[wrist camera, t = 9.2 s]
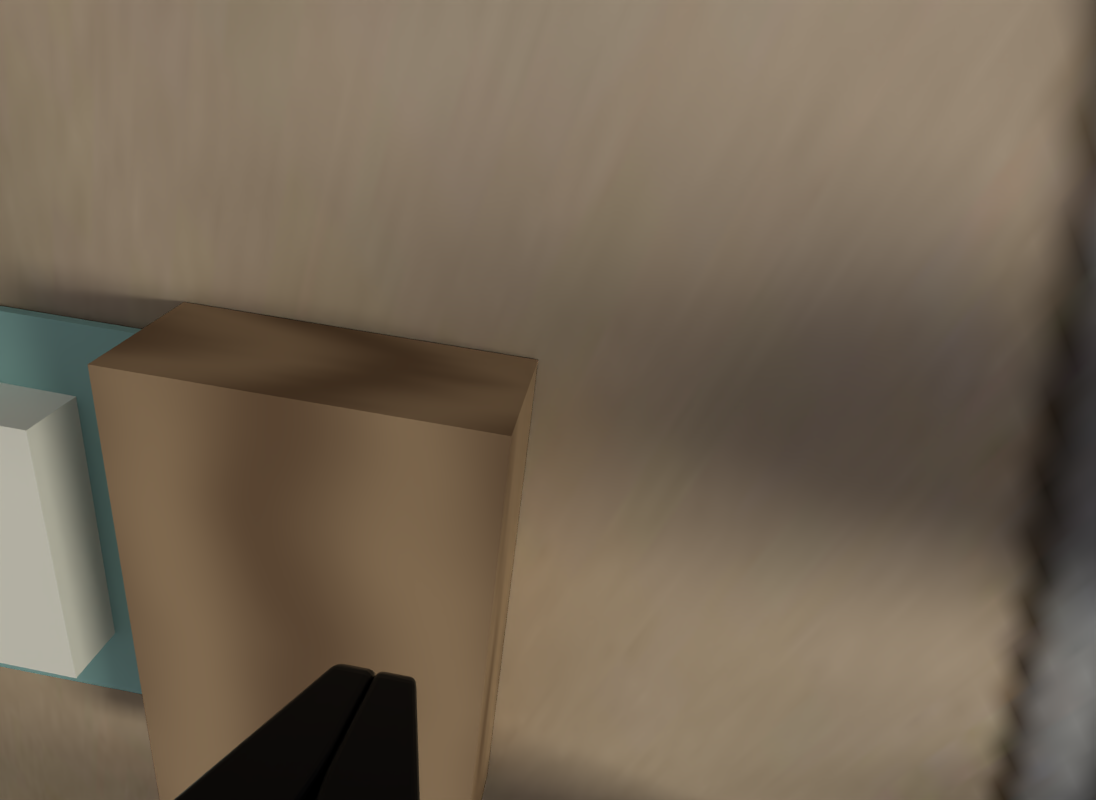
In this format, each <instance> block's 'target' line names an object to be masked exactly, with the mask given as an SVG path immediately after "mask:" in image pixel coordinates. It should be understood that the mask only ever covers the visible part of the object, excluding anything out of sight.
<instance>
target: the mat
mask: <svg viewBox="0 0 1096 800" xmlns="http://www.w3.org/2000/svg"><path fill="white" fill-rule="evenodd" d="M140 330H142V329H137V328H131V327H125V326H119V325H113V324H107V323H101V322H95V321H89V320H83V319H77V318H71V317H65V316H59V315H53V314H47V313H41V312H35V311H29V310H23V309H17V308H11V307H5V306H0V383H6V384H11V385H16V386H22V387H27V388H33V389H38V390H44V391H49V392H55V393H60V394H66V395H71V396H76V399H77V406H78V412H79V418H80V424H81V430H82V436H83V442H84V448H85V454H86V460H87V466H88V472H89V478H90V484H91V490H92V497H93V503H94V509H95V515H96V521H97V527H98V533H99V539H100V545H101V551H102V557H103V563H104V569H105V575H106V582H107V588H108V594H109V600H110V606H111V612H112V618H113V624H114V630H115V634H114V635H113V636H112V637H111V638H110V640H109V641H108V642H107V643H106V644H105V645H104V647H103V648H102V649H101V650H100V651H99V652H98V654H97V655H96V656H95V657H94V658H93V659H92V660H91V662H90V663H89V664H88V665H87V666H86V667H85V669H84V670H83V671H82V672H81V673H80V674H79V676H78V677H77V678H72V677H67V676H62V675H57V674H53V673H48V672H43V671H38V670H33V669H28V668H23V667H18V666H13V665H8V664H4V663H0V666H1V667H6V668H11V669H16V670H22V671H27V672H32V673H37V674H42V675H47V676H52V677H57V678H62V679H67V680H73V681H78V682H83V683H88V684H93V685H98V686H103V687H108V688H113V689H118V690H124V691H129V692H134V693H139V694H142V691H141V685H140V679H139V673H138V667H137V661H136V654H135V648H134V642H133V636H132V630H131V624H130V618H129V612H128V606H127V600H126V594H125V588H124V582H123V576H122V570H121V564H120V558H119V552H118V546H117V540H116V534H115V528H114V522H113V515H112V509H111V503H110V497H109V491H108V485H107V479H106V473H105V467H104V461H103V455H102V449H101V443H100V437H99V431H98V425H97V419H96V413H95V407H94V401H93V395H92V389H91V382H90V376H89V370H88V364H89V363H90V362H92V361H94V360H95V359H97V358H98V357H100V356H101V355H103V354H104V353H106V352H107V351H109V350H111V349H112V348H114V347H115V346H117V345H118V344H120V343H121V342H123V341H125V340H126V339H128V338H129V337H131V336H132V335H134V334H135V333H137V332H138V331H140Z"/></svg>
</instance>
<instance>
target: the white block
mask: <svg viewBox="0 0 1096 800" xmlns="http://www.w3.org/2000/svg"><path fill="white" fill-rule="evenodd" d="M114 634H115V630H114V624H113V618H112V612H111V606H110V600H109V594H108V588H107V582H106V575H105V569H104V563H103V557H102V551H101V545H100V539H99V533H98V527H97V521H96V515H95V509H94V503H93V497H92V490H91V484H90V478H89V472H88V466H87V460H86V454H85V448H84V442H83V436H82V430H81V424H80V418H79V412H78V406H77V399H76V396H71V395H66V394H60V393H55V392H49V391H44V390H38V389H33V388H27V387H22V386H16V385H11V384H6V383H0V663H4V664H8V665H13V666H18V667H23V668H28V669H33V670H38V671H43V672H48V673H53V674H57V675H62V676H67V677H72V678H77V677H78V676H79V674H80V673H81V672H82V671H83V670H84V669H85V667H86V666H87V665H88V664H89V663H90V662H91V660H92V659H93V658H94V657H95V656H96V655H97V654H98V652H99V651H100V650H101V649H102V648H103V647H104V645H105V644H106V643H107V642H108V641H109V640H110V638H111V637H112V636H113V635H114Z"/></svg>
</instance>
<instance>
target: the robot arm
mask: <svg viewBox="0 0 1096 800" xmlns="http://www.w3.org/2000/svg"><path fill="white" fill-rule="evenodd" d="M174 800H420V787H419V754H418V721H417V689H416V681H415V679H414V678H413V677H410V676H405V675H400V674H395V673H389V672H379V673H377V674H376V675H375V672H374V671H373V670H371V669H368V668H363V667H358V666H353V665H347V664H337V665H334V666H332V667H331V668H330V669H328V670H327V671H326V672H325V673H324V674H322V675H321V676H320V677H319V678H318V679H316V680H315V681H314V682H313V683H312V684H311V685H309V686H308V687H307V688H306V689H305V690H303V691H302V692H301V693H300V694H299V695H297V696H296V697H295V698H294V699H293V700H292V701H290V702H289V703H288V704H287V705H286V706H284V707H283V708H282V709H281V710H280V711H278V712H277V713H276V714H275V715H274V716H273V717H271V718H270V719H269V720H268V721H267V722H265V723H264V724H263V725H262V726H261V727H259V728H258V729H257V730H256V731H255V732H254V733H252V734H251V735H250V736H249V737H248V738H246V739H245V740H244V741H243V742H242V743H240V744H239V745H238V746H237V747H236V748H235V749H233V750H232V751H231V752H230V753H229V754H227V755H226V756H225V757H224V758H223V759H221V760H220V761H219V762H218V763H217V764H216V765H214V766H213V767H212V768H211V769H210V770H208V771H207V772H206V773H205V774H204V775H202V776H201V777H200V778H199V779H198V780H197V781H195V782H194V783H193V784H192V785H191V786H189V787H188V788H187V789H186V790H185V791H183V792H182V793H181V794H180V795H179V796H178V797H176V798H175V799H174Z"/></svg>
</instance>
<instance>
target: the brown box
mask: <svg viewBox="0 0 1096 800" xmlns="http://www.w3.org/2000/svg"><path fill="white" fill-rule="evenodd" d="M537 366H538V360H535V359H529V358H523V357H517V356H511V355H505V354H499V353H492V352H486V351H480V350H474V349H468V348H462V347H456V346H449V345H443V344H437V343H431V342H425V341H419V340H413V339H407V338H400V337H394V336H388V335H382V334H376V333H370V332H364V331H358V330H351V329H345V328H339V327H333V326H327V325H321V324H315V323H309V322H302V321H296V320H290V319H284V318H278V317H272V316H266V315H260V314H253V313H247V312H241V311H235V310H229V309H223V308H217V307H210V306H204V305H198V304H192V303H186V302H183V303H182V304H180V305H179V306H177V307H176V308H174V309H173V310H171V311H169V312H168V313H166V314H165V315H163V316H162V317H160V318H159V319H157V320H156V321H154V322H152V323H151V324H149V325H148V326H146V327H145V328H143V329H142V330H140V331H138V332H137V333H135V334H134V335H132V336H131V337H129V338H128V339H126V340H125V341H123V342H121V343H120V344H118V345H117V346H115V347H114V348H112V349H111V350H109V351H107V352H106V353H104V354H103V355H101V356H100V357H98V358H97V359H95V360H94V361H92V362H90V363H89V364H88V370H89V376H90V382H91V389H92V395H93V401H94V407H95V413H96V419H97V425H98V431H99V437H100V443H101V449H102V455H103V461H104V467H105V473H106V479H107V485H108V491H109V497H110V503H111V509H112V515H113V522H114V528H115V534H116V540H117V546H118V552H119V558H120V564H121V570H122V576H123V582H124V588H125V594H126V600H127V606H128V612H129V618H130V624H131V630H132V636H133V642H134V648H135V654H136V661H137V667H138V673H139V679H140V685H141V691H142V697H143V703H144V709H145V715H146V721H147V727H148V733H149V739H150V745H151V751H152V757H153V763H154V769H155V775H156V781H157V787H158V794H159V800H174V799H175V798H176V797H178V796H179V795H180V794H181V793H182V792H183V791H185V790H186V789H187V788H188V787H189V786H191V785H192V784H193V783H194V782H195V781H197V780H198V779H199V778H200V777H201V776H202V775H204V774H205V773H206V772H207V771H208V770H210V769H211V768H212V767H213V766H214V765H216V764H217V763H218V762H219V761H220V760H221V759H223V758H224V757H225V756H226V755H227V754H229V753H230V752H231V751H232V750H233V749H235V748H236V747H237V746H238V745H239V744H240V743H242V742H243V741H244V740H245V739H246V738H248V737H249V736H250V735H251V734H252V733H254V732H255V731H256V730H257V729H258V728H259V727H261V726H262V725H263V724H264V723H265V722H267V721H268V720H269V719H270V718H271V717H273V716H274V715H275V714H276V713H277V712H278V711H280V710H281V709H282V708H283V707H284V706H286V705H287V704H288V703H289V702H290V701H292V700H293V699H294V698H295V697H296V696H297V695H299V694H300V693H301V692H302V691H303V690H305V689H306V688H307V687H308V686H309V685H311V684H312V683H313V682H314V681H315V680H316V679H318V678H319V677H320V676H321V675H322V674H324V673H325V672H326V671H327V670H328V669H330V668H331V667H332V666H334V665H337V664H347V665H353V666H358V667H363V668H368V669H371V670H373V671H374V672H375V675H376V674H377V673H379V672H389V673H395V674H400V675H405V676H410V677H413V678H414V679H415V681H416V689H417V721H418V754H419V787H420V800H482V795H483V791H484V787H485V782H486V778H487V773H488V765H489V757H490V749H491V741H492V733H493V724H494V716H495V708H496V700H497V692H498V684H499V676H500V667H501V659H502V651H503V643H504V635H505V627H506V618H507V610H508V602H509V594H510V586H511V578H512V569H513V561H514V553H515V545H516V537H517V529H518V521H519V512H520V504H521V496H522V488H523V480H524V472H525V463H526V455H527V447H528V439H529V431H530V423H531V415H532V406H533V398H534V390H535V382H536V374H537Z"/></svg>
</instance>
